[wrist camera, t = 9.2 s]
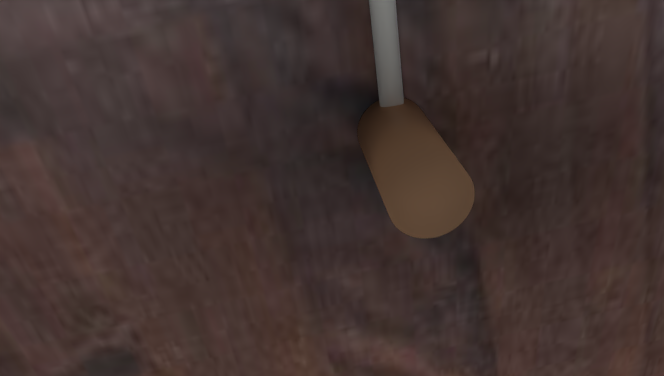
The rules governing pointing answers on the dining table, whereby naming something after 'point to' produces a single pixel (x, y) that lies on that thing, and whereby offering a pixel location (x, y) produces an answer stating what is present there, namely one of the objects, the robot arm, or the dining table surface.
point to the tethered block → (409, 146)
